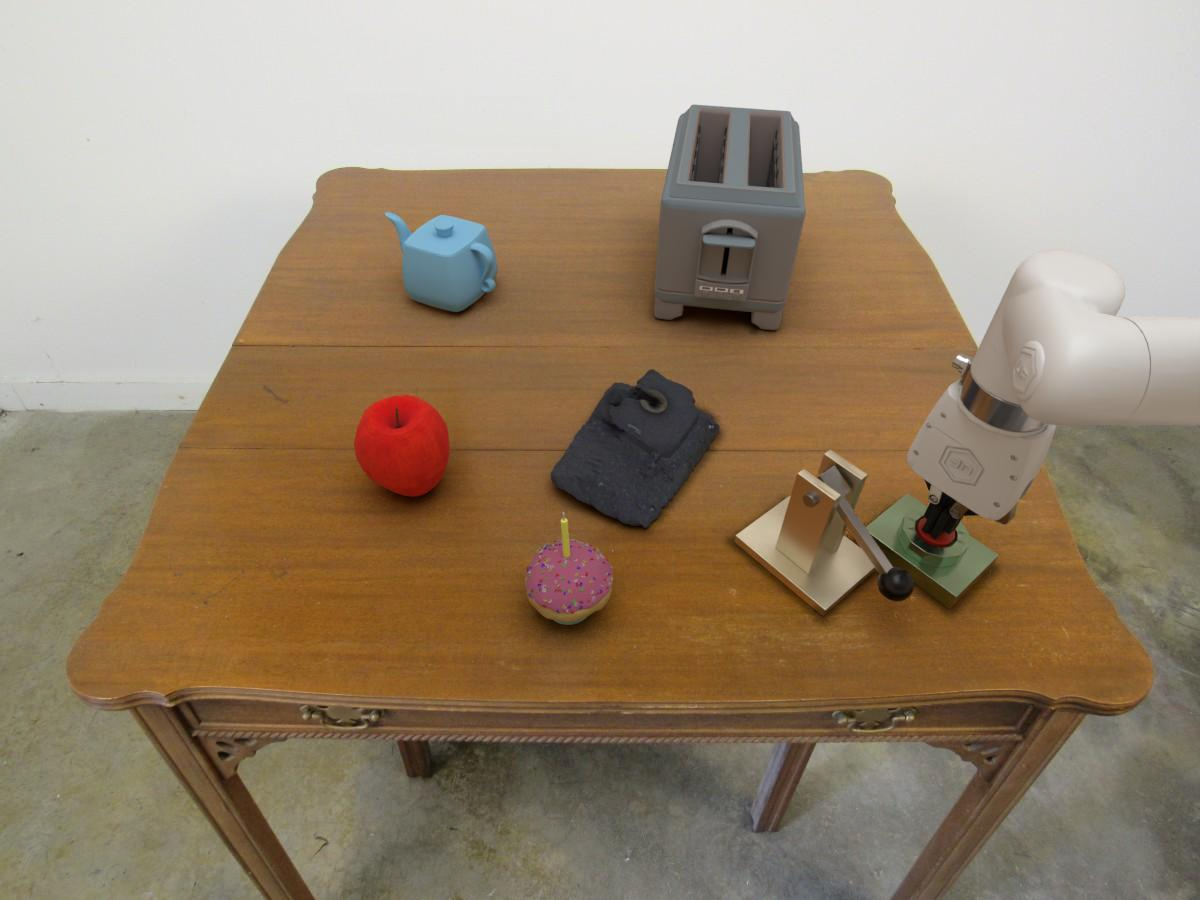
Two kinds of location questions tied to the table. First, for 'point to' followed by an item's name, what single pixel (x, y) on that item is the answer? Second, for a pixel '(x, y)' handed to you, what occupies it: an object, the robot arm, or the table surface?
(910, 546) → the button housing
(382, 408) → the apple
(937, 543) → the button
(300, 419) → the table surface
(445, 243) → the teapot
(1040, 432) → the robot arm
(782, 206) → the toaster
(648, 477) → the dark gray ringed slab
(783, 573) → the switch bracket
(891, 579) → the lever
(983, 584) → the table surface
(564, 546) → the cupcake
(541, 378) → the table surface
